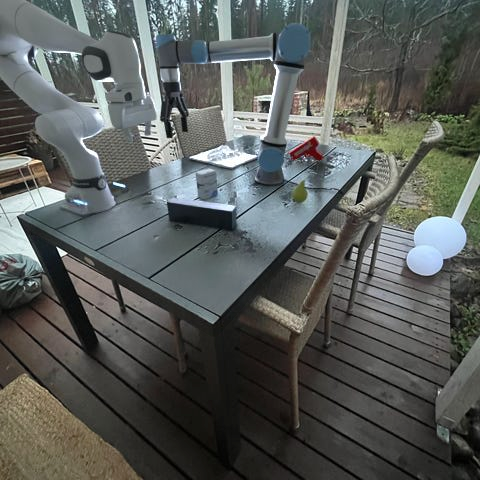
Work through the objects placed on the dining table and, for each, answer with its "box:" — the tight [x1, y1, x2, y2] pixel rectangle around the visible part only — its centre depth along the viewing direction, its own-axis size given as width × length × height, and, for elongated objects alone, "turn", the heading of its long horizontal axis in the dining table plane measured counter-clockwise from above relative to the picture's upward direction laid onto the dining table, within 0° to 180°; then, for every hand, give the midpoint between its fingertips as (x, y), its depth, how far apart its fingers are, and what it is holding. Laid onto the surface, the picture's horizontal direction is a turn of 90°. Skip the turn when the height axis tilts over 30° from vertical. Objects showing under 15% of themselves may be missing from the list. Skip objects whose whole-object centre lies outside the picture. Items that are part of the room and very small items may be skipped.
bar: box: [166, 196, 237, 232], centre depth 104 cm, size 26×5×8 cm, turn 72°
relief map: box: [189, 144, 258, 170], centre depth 177 cm, size 27×35×5 cm
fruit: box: [291, 174, 311, 204], centre depth 118 cm, size 7×8×12 cm
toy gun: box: [288, 135, 324, 163], centre depth 171 cm, size 18×4×15 cm
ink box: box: [195, 168, 219, 200], centre depth 125 cm, size 8×5×12 cm, turn 135°
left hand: (140, 138), depth 95 cm, fingers open, 8 cm apart
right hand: (177, 134), depth 124 cm, fingers open, 13 cm apart
